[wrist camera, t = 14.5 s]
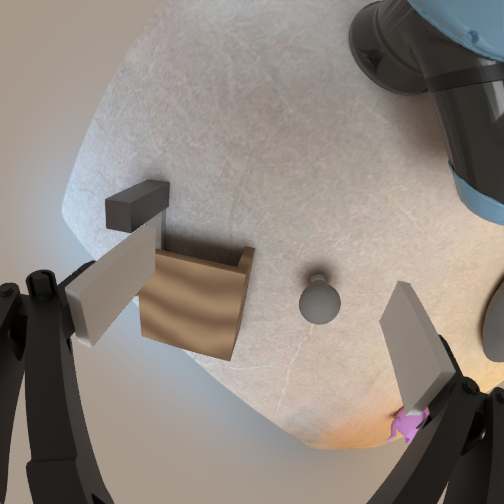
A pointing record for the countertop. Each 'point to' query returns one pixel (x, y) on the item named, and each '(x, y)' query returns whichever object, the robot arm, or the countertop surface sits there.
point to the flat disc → (494, 327)
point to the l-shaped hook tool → (139, 209)
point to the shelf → (195, 302)
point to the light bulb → (319, 301)
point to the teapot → (407, 424)
